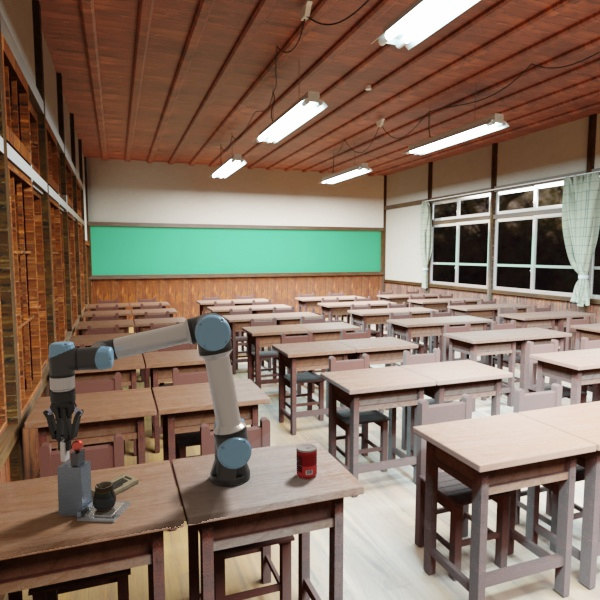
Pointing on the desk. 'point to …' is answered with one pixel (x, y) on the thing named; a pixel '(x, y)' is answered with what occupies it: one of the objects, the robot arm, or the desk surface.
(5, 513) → the desk surface
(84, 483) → the press
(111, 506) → the mate gourd
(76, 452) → the lever
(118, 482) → the computer
